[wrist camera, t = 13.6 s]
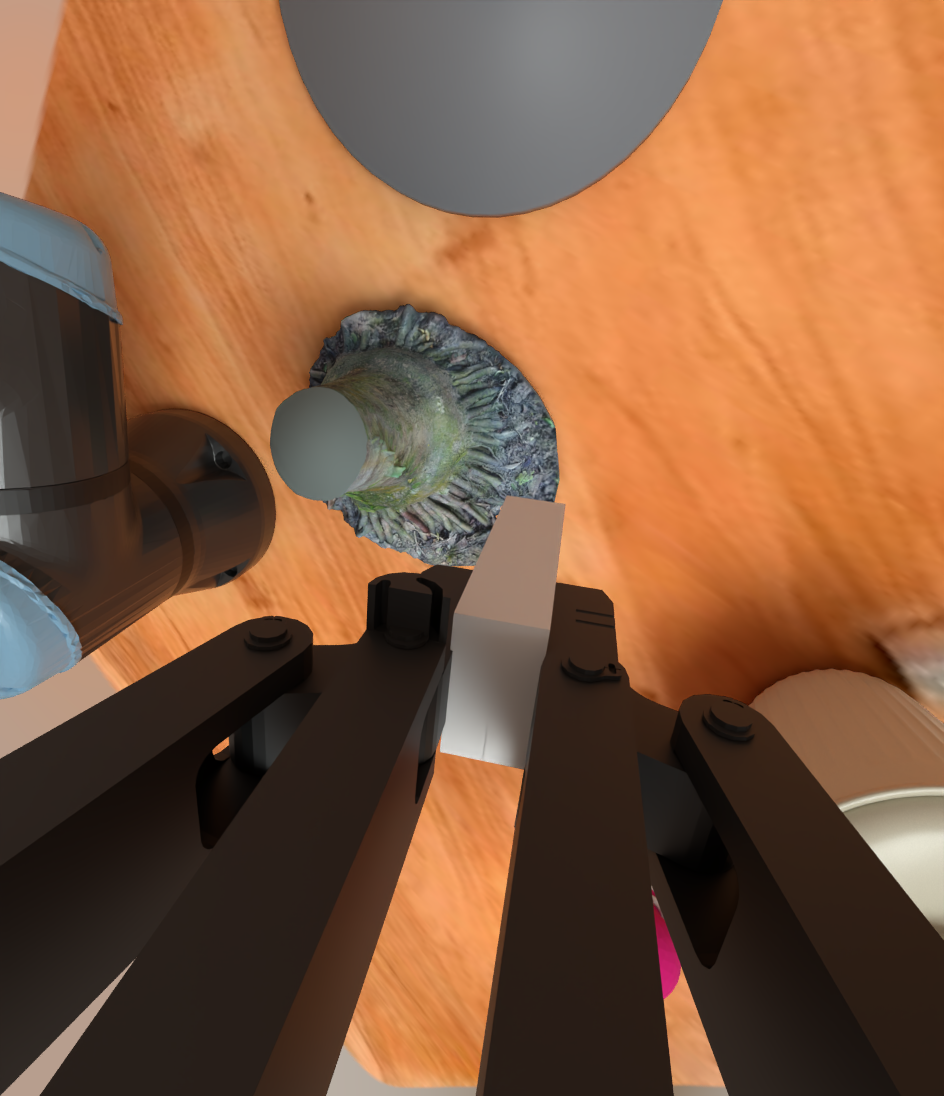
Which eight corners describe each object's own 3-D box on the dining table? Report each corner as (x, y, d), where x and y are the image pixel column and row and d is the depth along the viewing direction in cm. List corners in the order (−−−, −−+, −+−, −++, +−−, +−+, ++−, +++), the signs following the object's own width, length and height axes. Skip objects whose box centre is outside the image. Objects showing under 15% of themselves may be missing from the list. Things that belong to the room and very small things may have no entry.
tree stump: (423, 607, 51) (291, 690, 35) (308, 409, 52) (125, 397, 35) (610, 501, 44) (555, 542, 27) (474, 270, 44) (341, 175, 28)
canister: (864, 585, 43) (1085, 803, 24) (995, 754, 46) (1288, 1072, 27) (655, 704, 50) (695, 950, 31) (780, 846, 53) (890, 1152, 33)
